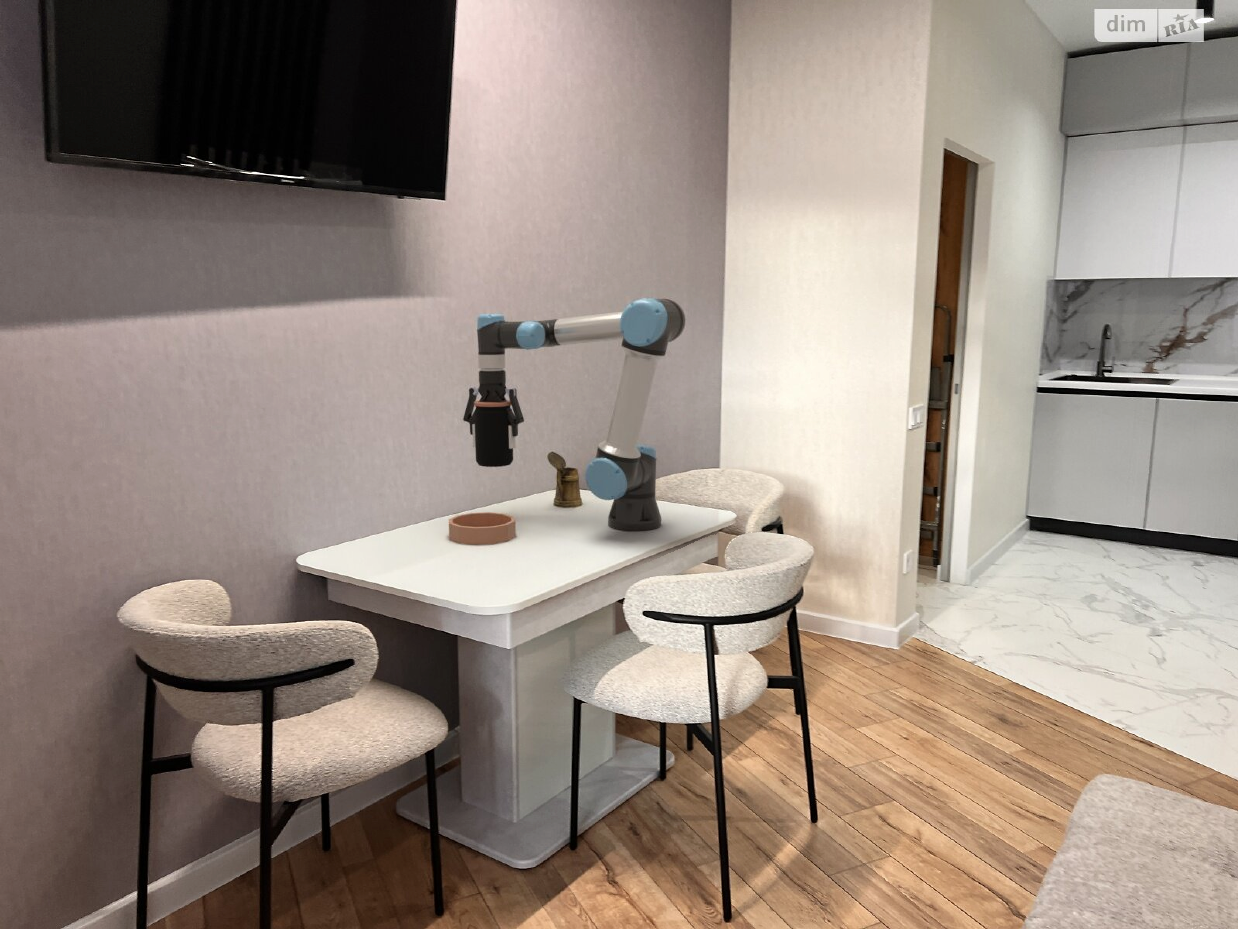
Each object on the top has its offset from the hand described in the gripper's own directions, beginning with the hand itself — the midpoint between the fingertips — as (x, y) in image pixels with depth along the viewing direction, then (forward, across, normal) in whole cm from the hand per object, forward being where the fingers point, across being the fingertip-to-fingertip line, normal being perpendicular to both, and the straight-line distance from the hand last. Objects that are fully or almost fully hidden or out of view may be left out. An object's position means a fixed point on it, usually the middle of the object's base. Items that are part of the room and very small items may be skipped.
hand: (494, 447), depth 267 cm
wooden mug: (+22, -12, -24) cm, 34 cm away
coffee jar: (+5, 0, 0) cm, 5 cm away
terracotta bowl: (+21, -4, +18) cm, 28 cm away
